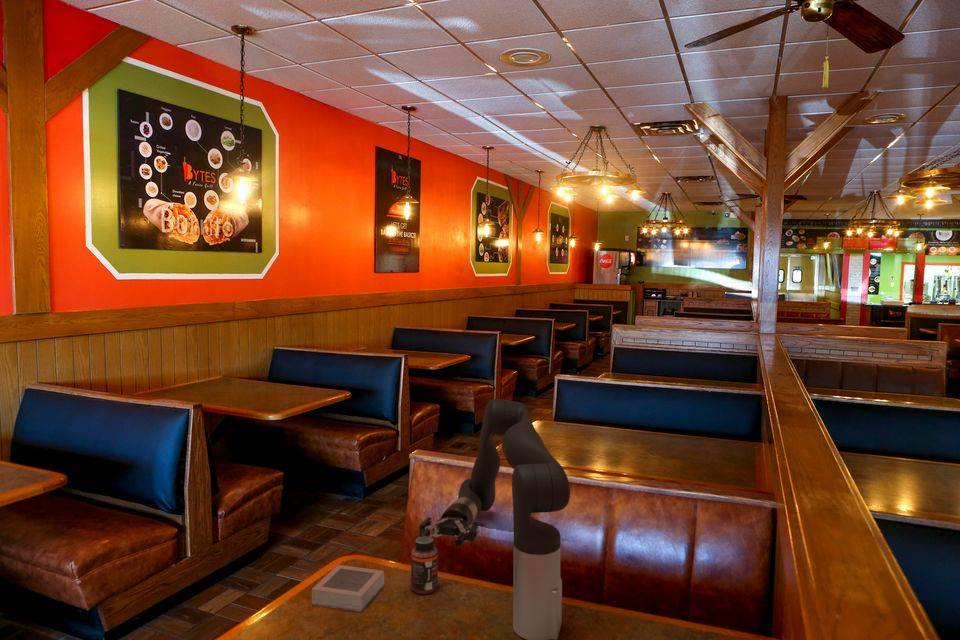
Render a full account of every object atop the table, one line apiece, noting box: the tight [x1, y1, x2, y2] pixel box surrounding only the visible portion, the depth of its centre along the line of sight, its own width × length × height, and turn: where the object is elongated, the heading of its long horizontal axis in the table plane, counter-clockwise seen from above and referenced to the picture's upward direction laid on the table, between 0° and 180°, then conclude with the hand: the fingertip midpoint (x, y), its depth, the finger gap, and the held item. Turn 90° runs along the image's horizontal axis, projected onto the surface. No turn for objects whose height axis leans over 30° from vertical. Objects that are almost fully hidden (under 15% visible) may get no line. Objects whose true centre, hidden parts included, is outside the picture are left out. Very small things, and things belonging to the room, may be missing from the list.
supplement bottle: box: [410, 536, 439, 595], centre depth 142 cm, size 6×6×11 cm
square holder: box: [311, 564, 385, 613], centre depth 139 cm, size 12×12×4 cm
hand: (439, 541), depth 151 cm, fingers open, 8 cm apart
